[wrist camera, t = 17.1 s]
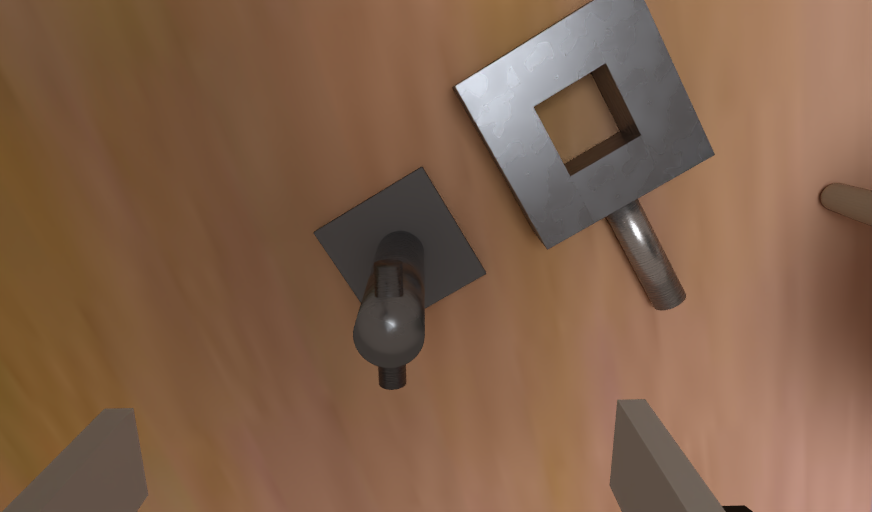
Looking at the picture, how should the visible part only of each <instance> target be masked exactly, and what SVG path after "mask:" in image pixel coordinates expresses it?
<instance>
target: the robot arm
mask: <svg viewBox="0 0 872 512" xmlns="http://www.w3.org/2000/svg"><path fill="white" fill-rule="evenodd" d="M610 487H611V489H612V491H613V494H614V496H615V498H616V500H617V502H618V504H619V506H620V508H621V511H622V512H753V511H751V510H750V509H748V508H747V507H746V506H721V505H720V503H719V502H718V500H717V499H716V498H715V496H714V495H713V493H712V492H711V491H710V489H709V488H708V486H707V485H706V484H705V482H704V481H703V479H702V478H701V477H700V475H699V474H698V472H697V471H696V470H695V468H694V467H693V465H692V464H691V463H690V461H689V460H688V458H687V457H686V456H685V454H684V453H683V451H682V450H681V449H680V447H679V446H678V444H677V443H676V442H675V440H674V439H673V437H672V436H671V435H670V433H669V432H668V431H667V429H666V428H665V426H664V425H663V424H662V422H661V421H660V419H659V418H658V417H657V415H656V414H655V412H654V411H653V410H652V408H651V407H650V405H649V404H648V403H647V401H646V400H645V399H635V400H617V410H616V421H615V432H614V443H613V454H612V465H611V476H610ZM147 496H148V490H147V485H146V479H145V473H144V467H143V461H142V456H141V450H140V444H139V438H138V432H137V427H136V421H135V415H134V409H133V408H121V409H104V410H103V411H102V412H101V413H100V414H99V415H98V416H97V417H96V418H95V419H94V420H93V421H92V422H91V423H90V424H89V425H88V426H87V427H86V428H85V429H84V430H83V431H82V432H81V433H80V434H79V435H78V436H77V437H76V438H75V439H74V440H73V441H72V442H71V443H70V444H69V445H68V446H67V447H66V448H65V449H64V450H63V451H62V452H61V453H60V454H59V455H58V456H57V457H56V458H55V459H54V460H53V461H52V462H51V463H50V464H49V465H48V466H47V467H46V468H45V469H44V470H43V471H42V472H41V473H40V474H39V475H38V476H37V477H36V478H35V479H34V480H33V481H32V482H31V483H30V484H29V485H28V486H27V487H26V488H25V489H24V490H23V491H22V492H21V493H20V494H19V495H18V496H17V497H16V498H15V499H14V500H13V501H12V502H11V503H10V504H9V505H8V506H7V507H6V508H5V509H4V510H3V511H2V512H137V511H138V509H139V508H140V506H141V505H142V503H143V502H144V500H145V499H146V497H147Z"/></svg>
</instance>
